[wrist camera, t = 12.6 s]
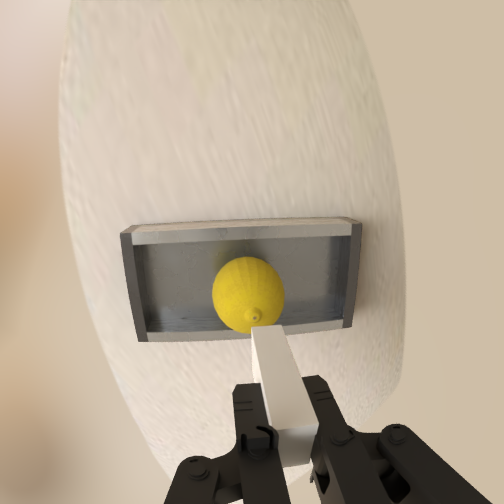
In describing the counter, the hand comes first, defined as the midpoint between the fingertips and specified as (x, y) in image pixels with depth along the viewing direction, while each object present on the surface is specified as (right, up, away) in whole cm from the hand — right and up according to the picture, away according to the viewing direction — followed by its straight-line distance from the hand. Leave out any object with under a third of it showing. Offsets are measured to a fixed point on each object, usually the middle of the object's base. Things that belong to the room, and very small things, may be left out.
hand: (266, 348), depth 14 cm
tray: (-2, +3, +13) cm, 13 cm away
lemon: (-2, +3, +12) cm, 13 cm away
